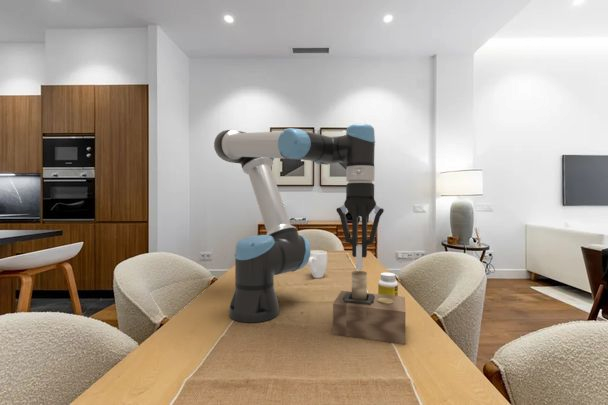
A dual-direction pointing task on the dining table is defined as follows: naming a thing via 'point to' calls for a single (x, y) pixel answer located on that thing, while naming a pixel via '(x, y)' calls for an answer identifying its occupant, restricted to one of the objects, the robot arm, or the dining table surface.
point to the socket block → (370, 317)
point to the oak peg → (359, 285)
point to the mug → (317, 263)
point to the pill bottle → (388, 284)
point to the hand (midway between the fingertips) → (359, 268)
